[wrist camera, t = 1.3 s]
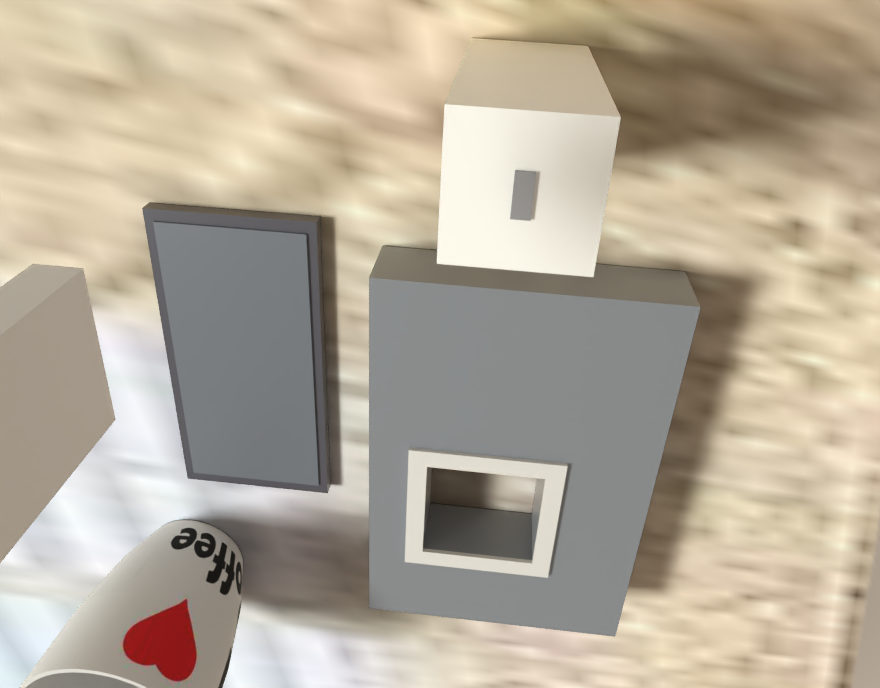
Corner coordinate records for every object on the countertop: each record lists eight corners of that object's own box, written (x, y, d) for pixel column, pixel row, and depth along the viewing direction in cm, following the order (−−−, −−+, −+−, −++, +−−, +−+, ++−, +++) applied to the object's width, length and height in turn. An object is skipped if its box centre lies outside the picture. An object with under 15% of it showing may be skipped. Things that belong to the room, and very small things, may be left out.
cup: (297, 588, 41) (236, 770, 32) (178, 617, 43) (91, 794, 34) (218, 481, 37) (126, 653, 29) (93, 519, 40) (-27, 689, 31)
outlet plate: (382, 245, 30) (368, 280, 27) (685, 271, 29) (701, 309, 26) (379, 561, 39) (368, 611, 36) (608, 587, 38) (615, 640, 36)
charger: (471, 37, 26) (444, 105, 17) (587, 45, 25) (621, 118, 17) (463, 152, 28) (436, 265, 19) (571, 161, 27) (593, 278, 19)
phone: (155, 197, 30) (141, 208, 29) (323, 211, 30) (315, 223, 29) (196, 462, 38) (187, 479, 36) (333, 476, 37) (327, 494, 36)
